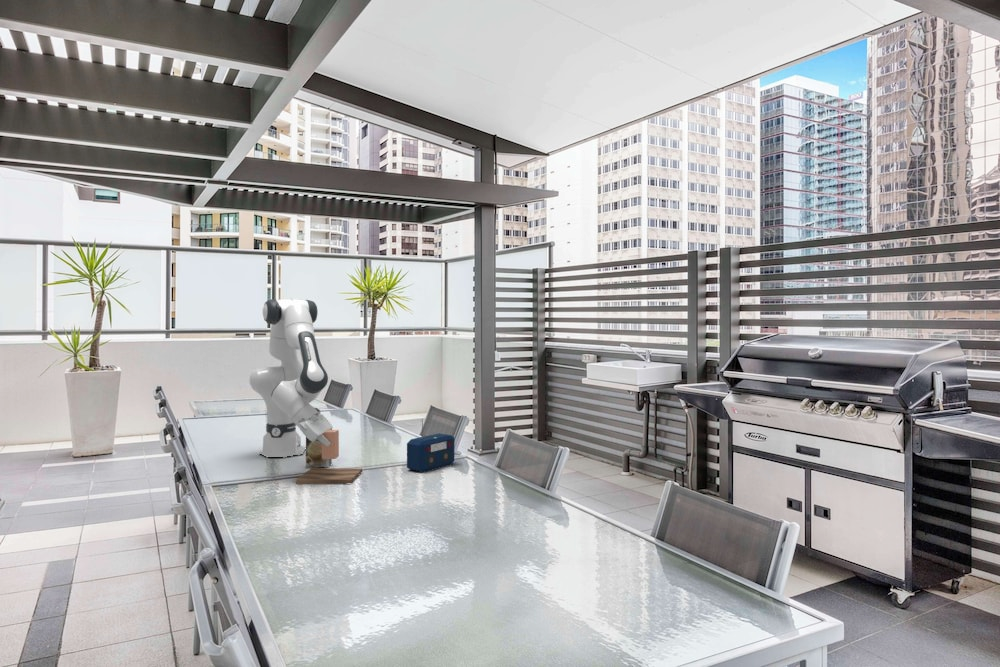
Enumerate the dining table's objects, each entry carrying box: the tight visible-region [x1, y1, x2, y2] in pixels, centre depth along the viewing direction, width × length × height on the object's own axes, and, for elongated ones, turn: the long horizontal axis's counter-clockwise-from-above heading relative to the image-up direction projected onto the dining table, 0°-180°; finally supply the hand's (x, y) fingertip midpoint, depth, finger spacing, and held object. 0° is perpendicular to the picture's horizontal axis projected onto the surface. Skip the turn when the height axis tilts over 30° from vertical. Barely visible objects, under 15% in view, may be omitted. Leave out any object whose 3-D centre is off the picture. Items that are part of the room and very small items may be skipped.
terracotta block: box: [322, 429, 340, 460], centre depth 240 cm, size 5×5×10 cm
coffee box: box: [305, 428, 333, 468], centre depth 260 cm, size 9×6×16 cm
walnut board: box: [295, 467, 363, 485], centre depth 241 cm, size 18×20×2 cm
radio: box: [406, 419, 455, 473], centre depth 258 cm, size 21×9×20 cm, turn 143°
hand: (332, 443), depth 240 cm, fingers closed on terracotta block, 5 cm apart
